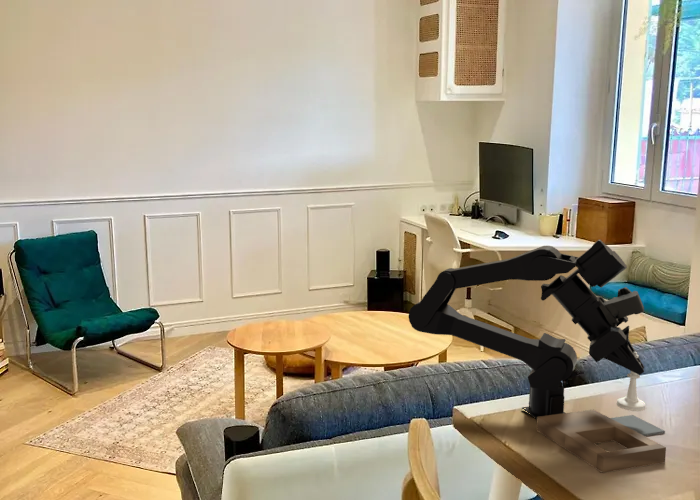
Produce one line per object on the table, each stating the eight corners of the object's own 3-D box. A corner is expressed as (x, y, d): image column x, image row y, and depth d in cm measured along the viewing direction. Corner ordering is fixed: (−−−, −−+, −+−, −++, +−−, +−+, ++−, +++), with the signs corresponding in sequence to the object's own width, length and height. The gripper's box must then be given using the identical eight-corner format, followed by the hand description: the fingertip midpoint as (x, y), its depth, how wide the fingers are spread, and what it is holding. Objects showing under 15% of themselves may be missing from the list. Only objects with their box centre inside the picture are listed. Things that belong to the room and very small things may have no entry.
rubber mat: (597, 421, 128) (597, 419, 128) (632, 416, 130) (632, 414, 130) (628, 438, 120) (628, 436, 120) (664, 433, 123) (665, 430, 123)
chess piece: (651, 407, 124) (656, 353, 123) (636, 413, 121) (640, 357, 120) (626, 399, 128) (630, 346, 127) (610, 404, 125) (614, 351, 124)
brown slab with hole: (536, 430, 123) (537, 416, 123) (592, 422, 127) (593, 409, 127) (602, 472, 107) (603, 457, 107) (664, 462, 111) (666, 447, 111)
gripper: (615, 284, 115) (683, 358, 112) (619, 267, 132) (678, 331, 129) (562, 325, 119) (626, 397, 116) (572, 304, 136) (628, 367, 133)
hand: (642, 371), depth 123 cm, fingers closed on chess piece
